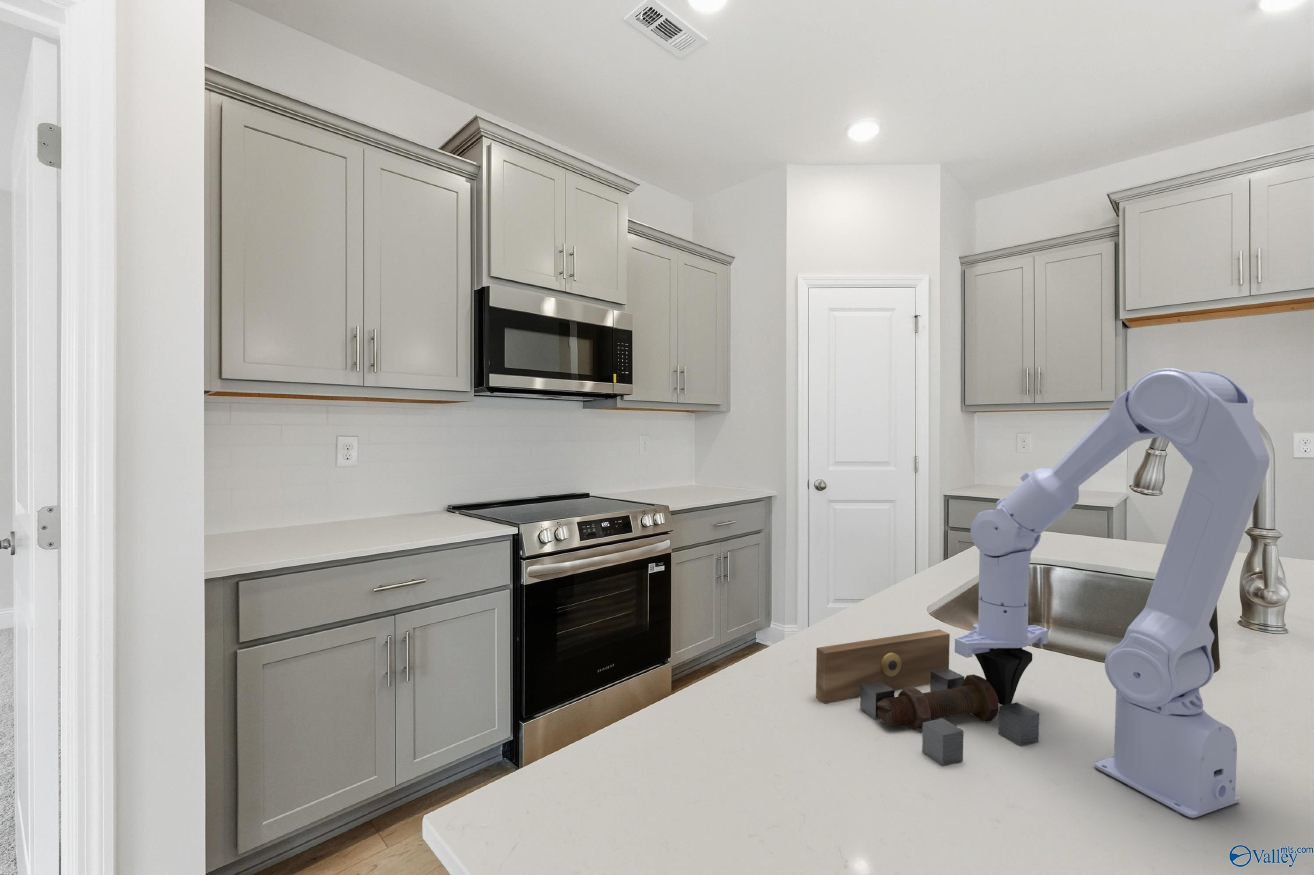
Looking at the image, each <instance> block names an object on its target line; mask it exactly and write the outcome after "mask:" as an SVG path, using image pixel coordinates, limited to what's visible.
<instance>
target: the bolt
mask: <svg viewBox="0 0 1314 875" xmlns="http://www.w3.org/2000/svg"><path fill="white" fill-rule="evenodd" d="M877 706H878V707H881V708H879V710H878V711H877V714H878V716H879V718H880V719H879V720H880V721H882V722H883V723H884V724H885V725H886V726H895V725H897V726H898V725H904V724H906V725H907V726H909V727H910V728H913V729H915V730H919V729H923V722H928V721H933V720H937V719H942V718H943V719H945V718H950V717H956V716H963V715H966V716H967V715H972V716H974V717H975V718H977V719H978V720H979V721H981V722H982V723H986V722H992V721H993V720H994V719H995V718H996V717H997V716H998V715H999V706H1000V704H999V702H998V697H997V694H996V692H995V690H994V689H993V687H992V686H991V685H990V683H989V682H988V681H987V680H986V678H985V677H982V676H980V675H976V674H968V675H965V676H964V681H963V683H962V685H961V686H960V687H957V688H953V689H945V690H939V691H931V692H930V691H928V692H926V691H925V692H923V691H921V690H919V689H918V688H916V687H905V688H903V689H900V691H899V693H898V696H894V697H891V698H884V699H883V700H881V701H879V703H877Z"/></svg>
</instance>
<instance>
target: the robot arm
mask: <svg viewBox="0 0 1314 875" xmlns="http://www.w3.org/2000/svg"><path fill="white" fill-rule="evenodd" d="M1254 402H1255V401H1254V398H1253V397H1251V395H1250V394H1248V393H1247V392H1246V391H1245V390H1244V389H1243V388H1242V387H1241V386H1240V385H1238V383H1236V382H1235V380H1233V379H1231V378H1230V377H1229V376H1226V375H1225V374H1223V373H1218V372H1214V371H1186V370H1183V369H1179V368H1171V367H1166V368H1159V369H1155V370H1152V371H1150V372H1147V373H1146V374H1144V375H1143V376H1141V377H1140V378H1139V379H1137V380H1136V382H1135V383H1134V384H1133V386H1132V387H1131V389H1127V390H1126V391H1124V392H1122V393H1121V394H1119V396H1117V397H1116V398H1115V400H1114V401H1113V403H1112V404H1111V406H1110V407H1109V409H1107V411H1106V412H1105V414H1104V415H1103V416H1101V418H1100V419H1099V420H1098V421H1096V423H1095V424H1094V425H1093V426H1092V427H1091V428H1090V429H1089V430H1088V431H1087V432H1086V433H1085V435H1084V436H1082V438H1080V439H1079V440H1078V441H1077V443H1076V444H1075V445H1074V446H1073V447H1071V449H1070V450H1069V451H1068V452H1067V453H1066V454H1065V455H1064V456H1063V457H1062V458H1061V459H1060V460H1059V462H1057V463H1056V464H1055V466H1053V467H1052V468H1047V467H1046V468H1045V467H1041V468H1039V467H1038V468H1037V469H1035V470H1033V471H1025V472H1024V473H1023V474H1022V475H1021V476H1020V478H1019V479H1020V480H1021V481H1022V482H1021V483H1020V484H1019V485H1018V486H1017V487H1016V488H1015V489H1014V490H1013V491H1012V492H1011V493H1010V494H1008V496H1006V497H1002V498H1000V499H998V500H997V502H995V503H996V508H995V509H990V510H989V509H987V510H983V511H980V512H977V514H976V516H975V518H974V519H973V521H972V522H971V525H970V538H971V541H972V543H973V544H974V546H975V547H976V548H977V550H979V558H978V559H979V560H978V561H979V564H978V565H979V566H978V570H979V571H978V572H979V573H978V612H977V613H978V617H977V618H978V619H977V621H978V623H975V624H972V631H970V632H968V633H966V634H964V635H962V636H959V637H954V653H955V654H958V655H959V656H961V657H963V658H973V655H975V657H976V660H977V662H978V663H979V665H980V667H981V670H982V672H983V675H984V679H986V680H987V681H988V682H989V683H990V685H991V686H992V687H993V689H994V690H995V692H996V694H997V697H998V702H999V706H1002V705H1006V704H1011V703H1013V701H1014V697H1015V694H1016V690H1017V688H1018V685H1019V682H1020V680H1021V678H1022V675H1023V674H1024V672H1025V671H1026V670H1027V668H1028V667H1029V665H1030V664H1031V663H1032V662H1033V653H1032V652H1030V651H1029V650H1026V649H1024V648H1026V647H1028V646H1030V645H1033V644H1040V645H1046V644H1048V642H1049V634H1048V633H1049V630H1048V629H1047V628H1045V627H1042V626H1039V625H1036V624H1034V625H1033V624H1032V625H1031V624H1030V625H1029V596H1030V595H1029V593H1030V592H1029V589H1030V588H1029V587H1030V563H1031V558H1032V557H1031V556H1032V551H1033V550H1034V549H1036V547H1038V544H1039V543H1040V541H1041V536H1042V534H1043V532H1045V531H1046V530H1047V529H1048V528H1049V527H1050V526H1052V525H1053V524H1054V523H1055V522H1056V521H1058V520H1059V519H1060V518H1061V517H1063V516H1064V515H1065V514H1066V513H1067V512H1069V510H1071V509H1072V508H1073V507H1074V506H1075V505H1076V504H1077V503H1078V502H1079V500H1080V495H1079V494H1080V491H1079V488H1080V486H1082V484H1084V483H1085V482H1086V481H1087V480H1089V479H1090V478H1091V477H1092V476H1094V475H1096V473H1098V472H1099V471H1100V470H1102V469H1103V468H1104V467H1106V466H1107V465H1108V464H1109V463H1110V462H1112V461H1113V460H1114V459H1115V458H1117V457H1118V456H1119V455H1120V454H1122V453H1123V452H1124V451H1126V450H1127V449H1128V448H1129V447H1132V445H1134V444H1136V443H1138V442H1141V441H1146V440H1150V439H1155V438H1162V439H1164V440H1166V441H1167V442H1169V443H1170V444H1172V446H1173V447H1174V448H1175V449H1176V450H1177V451H1178V453H1180V455H1181V456H1182V457H1183V458H1184V460H1185V461H1187V463H1188V464H1189V465H1190V466H1191V468H1192V471H1191V474H1190V477H1189V479H1188V483H1187V485H1186V488H1185V491H1184V494H1183V497H1182V500H1181V502H1180V506H1179V508H1178V512H1177V514H1176V517H1175V520H1174V523H1173V526H1172V528H1171V531H1170V534H1169V537H1168V540H1167V543H1166V546H1165V549H1164V551H1163V553H1162V557H1161V560H1160V563H1159V565H1158V568H1157V572H1156V575H1155V578H1154V581H1153V583H1152V586H1151V589H1150V591H1149V594H1148V597H1147V601H1146V603H1145V606H1144V608H1143V609H1142V611H1141V612H1140V613H1139V614H1138V615H1137V616H1136V617H1135V619H1133V621H1132V622H1131V623H1130V624H1129V625H1128V627H1127V629H1126V632H1125V634H1124V637H1123V638H1122V640H1121V641H1120V642H1119V643H1118V644H1116V645H1114V646H1113V647H1111V649H1110V650H1109V651H1108V652H1107V654H1106V656H1105V659H1104V670H1105V671H1104V672H1105V674H1106V677H1107V679H1108V680H1109V682H1110V684H1111V685H1112V686H1113V688H1114V689H1115V709H1114V710H1115V712H1114V745H1113V746H1114V750H1113V757H1109V758H1105V759H1103V760H1098V761H1096V762H1094V763H1093V764H1094V766H1093V767H1094V768H1096V769H1097V770H1099V771H1101V772H1103V773H1105V774H1106V775H1108V776H1110V777H1112V778H1114V779H1116V780H1118V781H1120V782H1122V783H1124V784H1126V785H1127V786H1129V787H1131V788H1133V789H1135V790H1137V791H1139V792H1141V793H1143V794H1144V795H1146V796H1149V797H1150V798H1152V799H1154V800H1156V801H1157V802H1159V803H1161V804H1163V805H1165V806H1167V807H1169V808H1171V809H1173V810H1174V811H1176V812H1178V813H1180V814H1181V815H1184V816H1186V817H1188V818H1191V819H1192V818H1193V819H1194V818H1198V817H1200V816H1203V815H1206V814H1209V813H1211V812H1214V811H1217V810H1220V809H1222V808H1226V807H1228V806H1231V805H1234V804H1238V803H1239V802H1240V797H1239V795H1237V794H1236V787H1237V786H1236V784H1237V782H1236V781H1237V759H1238V756H1237V755H1238V754H1237V753H1238V743H1237V738H1236V735H1235V733H1234V730H1233V729H1232V728H1231V727H1230V726H1228V725H1226V723H1225V724H1224V723H1222V722H1221V721H1219V720H1217V719H1215V717H1214V718H1213V717H1212V716H1211V715H1210V714H1208V713H1207V712H1206V711H1205V710H1204V703H1203V699H1202V696H1201V693H1200V689H1201V688H1202V687H1205V686H1207V684H1209V683H1210V682H1211V680H1212V678H1213V676H1214V674H1215V664H1214V660H1213V658H1212V645H1213V642H1214V640H1215V634H1214V632H1213V630H1212V629H1211V626H1210V623H1211V620H1212V617H1213V614H1214V612H1215V609H1216V607H1217V604H1218V602H1219V599H1220V596H1221V594H1222V591H1223V589H1224V586H1225V584H1226V580H1227V577H1228V576H1229V572H1230V570H1231V567H1232V565H1233V562H1234V559H1235V557H1236V554H1237V552H1238V549H1239V546H1240V544H1241V541H1242V538H1243V536H1244V532H1245V531H1246V528H1247V526H1248V522H1249V521H1250V520H1249V519H1250V517H1251V514H1252V512H1253V510H1254V507H1255V504H1256V501H1257V499H1258V497H1259V493H1260V491H1261V488H1262V486H1263V483H1264V481H1265V478H1266V476H1267V472H1268V469H1269V466H1270V459H1271V457H1270V454H1269V451H1268V449H1267V447H1266V443H1265V441H1264V438H1263V435H1262V433H1261V430H1260V427H1259V425H1258V423H1257V420H1256V416H1255V415H1254Z"/></svg>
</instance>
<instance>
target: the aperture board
mask: <svg viewBox="0 0 1314 875" xmlns="http://www.w3.org/2000/svg"><path fill="white" fill-rule="evenodd" d="M950 638H951V634H950V633H948V632H946V631H944V630H941V629H933V630H926V631H919V632H914V633H913V632H912V633H906V634H899V635H893V636H887V637H886V636H885V637H878V638H872V639H867V640H866V639H865V640H859V641H852V642H846V643H840V644H831V645H827V646H820V647H816V655H815V656H816V657H815V658H816V659H815V660H816V664H815V666H816V667H815V668H816V670H815V673H816V674H815V675H816V676H815V679H816V680H815V698H816V699H818V700H819V701H820V702H822V703H823V704H825V705H826V704H831V703H834V702H835V703H836V702H840V701H846V700H851V699H857V698H860V686H861V684H862V683H867V682H873V681H878V680H879V681H881V682H882V683H884V684H886V685H887V686H889V687H891V688H892V689H894V690H895V691H898V690H902V689H903V688H905V687H913V688H916V687H919V686H926V685H930V678H931V671H934V670H939V669H945V668H948V669H950V644H951V643H950V641H951V640H950Z"/></svg>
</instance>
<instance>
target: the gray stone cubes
mask: <svg viewBox="0 0 1314 875" xmlns="http://www.w3.org/2000/svg"><path fill="white" fill-rule="evenodd" d="M964 679H965V676H964V675H963V674H960V673H958V672H956V671H954V670H953V669H950V668H949V669H948V668H945V669H939V670H934V671H931V678H930V684H929V685H930V686H929V687H930V688H929V690H930V691H929V692H931V691H939V690H945V689H953V688H957V687H960V686H961V685H962V683H963V681H964ZM895 691H896V690H894V689H892V688H891V687H889V686H887V685H886V684H884V683H882V682H881V681H879V680H878V681H873V682H867V683H862V684H861V686H860V697H859V698H860V699H859V700H860V703H859V705H860V706H859V707H860V708H859V710H860V711H862V712H863V713H864V714H866V715H867V716H869V717H871V718H872V719H873V720H875V721H877V720H881V719H880V718H879V716H878V714H877V711H878V710H879V708H881V707H878V706H877V703H879V701H881V700H883V699H884V698H891V697H895ZM998 735H1000V736H1001V737H1003V738H1005V739H1006V740H1008V741H1010V742H1012V743H1014V744H1015V745H1017V746H1020V747H1024V746H1028V745H1031V744H1036V743H1039V742H1040V741H1039V740H1040V739H1039V738H1040V713H1039V712H1038V711H1036V710H1034V709H1032V708H1029V707H1028V706H1025V705H1024V704H1021V703H1019V702H1017V701H1016V702H1012V703H1011V704H1006V705H999V711H998ZM921 749H922V750H921V752H922V753H923V754H925V755H926V756H927V757H929V758H930V759H932V760H933V761H935V762H936V763H938V765H941V766H943V767H944V766H947V765H951V764H956V763H960V762H963V761H964V730H963V729H961V728H960V727H958V726H956V725H955V724H953V723H951V722H950V721H948V720H947V719H945V718H937V719H932V720H930V721H928V722H923V728H922V748H921Z"/></svg>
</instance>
